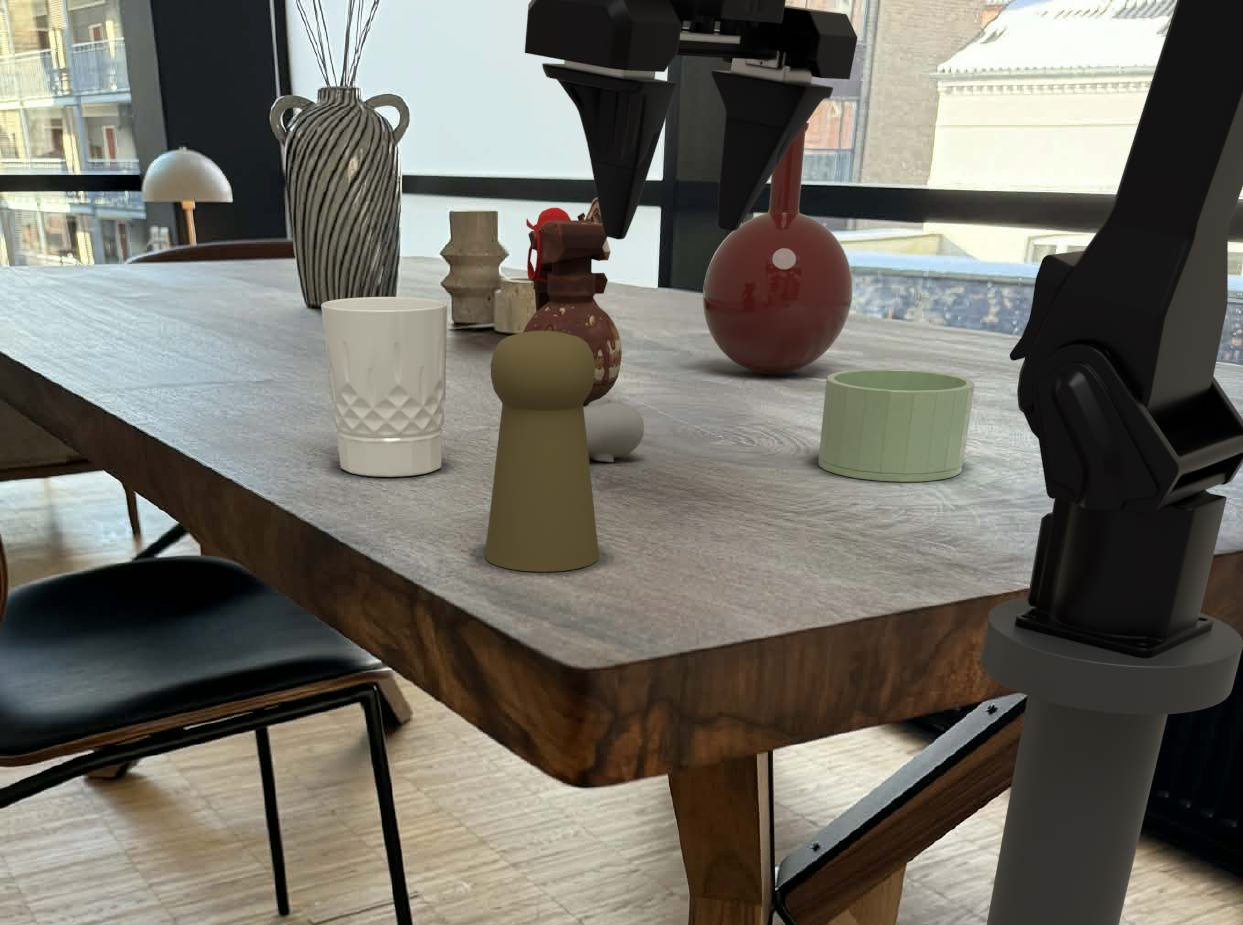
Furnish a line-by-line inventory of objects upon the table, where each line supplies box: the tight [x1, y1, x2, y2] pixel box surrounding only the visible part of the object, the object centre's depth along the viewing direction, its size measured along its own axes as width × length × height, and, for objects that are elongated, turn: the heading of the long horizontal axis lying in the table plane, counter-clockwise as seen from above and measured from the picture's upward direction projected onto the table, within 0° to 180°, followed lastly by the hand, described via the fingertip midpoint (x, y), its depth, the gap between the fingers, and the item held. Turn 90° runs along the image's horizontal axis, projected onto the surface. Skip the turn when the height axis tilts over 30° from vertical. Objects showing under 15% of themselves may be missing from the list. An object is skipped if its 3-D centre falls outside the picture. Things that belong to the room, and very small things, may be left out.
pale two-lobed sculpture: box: [583, 397, 645, 463], centre depth 97 cm, size 4×8×5 cm
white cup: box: [320, 296, 448, 478], centre depth 93 cm, size 8×8×10 cm
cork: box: [484, 331, 600, 573], centre depth 74 cm, size 6×6×11 cm
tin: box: [818, 368, 976, 483], centre depth 96 cm, size 9×9×6 cm
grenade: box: [522, 197, 623, 407], centre depth 113 cm, size 10×8×15 cm
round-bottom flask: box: [702, 122, 854, 375], centre depth 127 cm, size 13×13×20 cm
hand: (673, 233), depth 74 cm, fingers open, 9 cm apart
